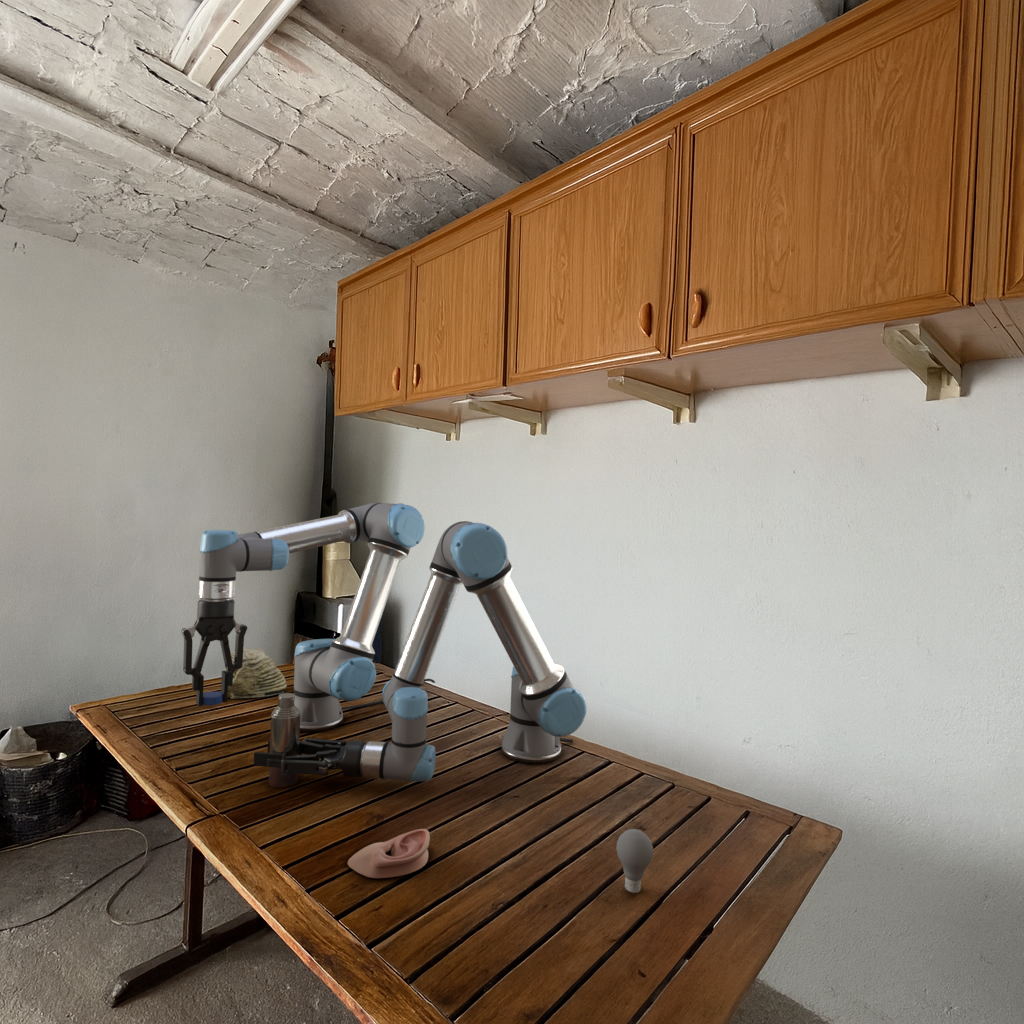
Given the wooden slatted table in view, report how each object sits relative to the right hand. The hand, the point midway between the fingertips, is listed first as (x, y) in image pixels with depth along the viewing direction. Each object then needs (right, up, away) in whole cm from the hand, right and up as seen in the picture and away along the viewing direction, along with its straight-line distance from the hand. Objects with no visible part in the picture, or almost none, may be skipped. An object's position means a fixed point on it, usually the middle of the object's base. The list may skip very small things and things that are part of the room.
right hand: (261, 752), depth 140 cm
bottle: (+5, -6, 0) cm, 8 cm away
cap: (-12, +12, +2) cm, 17 cm away
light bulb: (+76, -10, -35) cm, 84 cm away
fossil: (-25, -4, +58) cm, 63 cm away
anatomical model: (+34, -8, -29) cm, 45 cm away
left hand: (-12, +11, +2) cm, 16 cm away
